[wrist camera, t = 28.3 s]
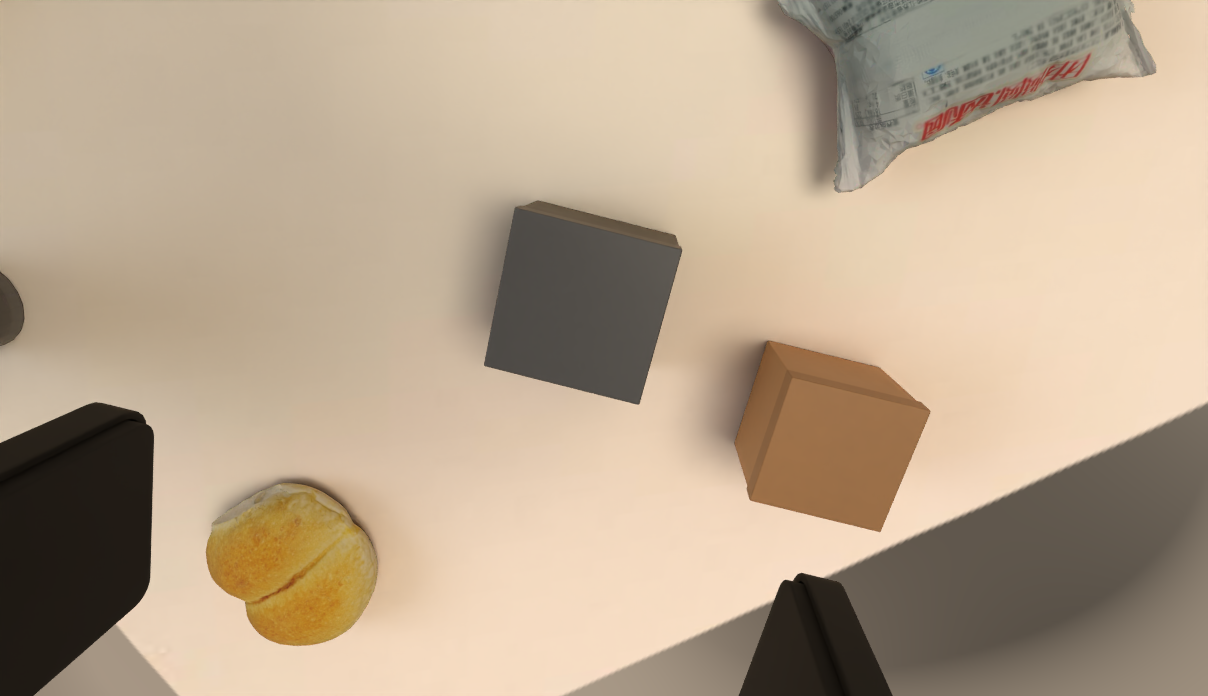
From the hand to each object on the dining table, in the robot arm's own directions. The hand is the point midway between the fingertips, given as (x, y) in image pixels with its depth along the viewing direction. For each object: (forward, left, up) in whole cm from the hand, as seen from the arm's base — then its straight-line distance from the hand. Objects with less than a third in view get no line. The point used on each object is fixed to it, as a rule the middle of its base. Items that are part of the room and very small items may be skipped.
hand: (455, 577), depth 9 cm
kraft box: (0, +12, -22) cm, 25 cm away
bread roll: (+21, -7, -22) cm, 32 cm away
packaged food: (-16, +8, -22) cm, 29 cm away
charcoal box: (0, 0, -22) cm, 22 cm away
